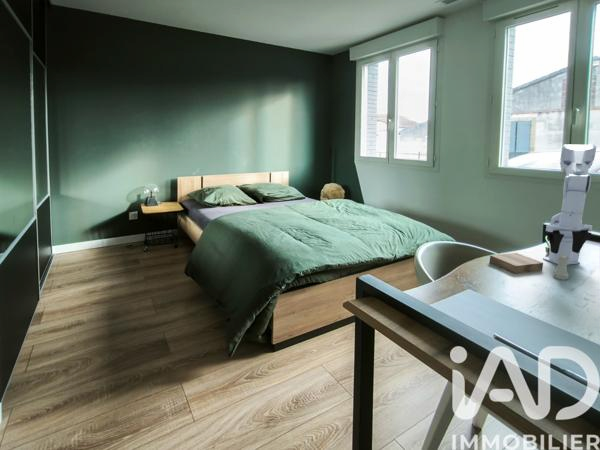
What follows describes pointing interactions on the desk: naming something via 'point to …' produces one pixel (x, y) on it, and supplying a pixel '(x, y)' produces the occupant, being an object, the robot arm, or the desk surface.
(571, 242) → the robot arm
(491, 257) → the walnut block
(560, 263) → the rook chess piece
